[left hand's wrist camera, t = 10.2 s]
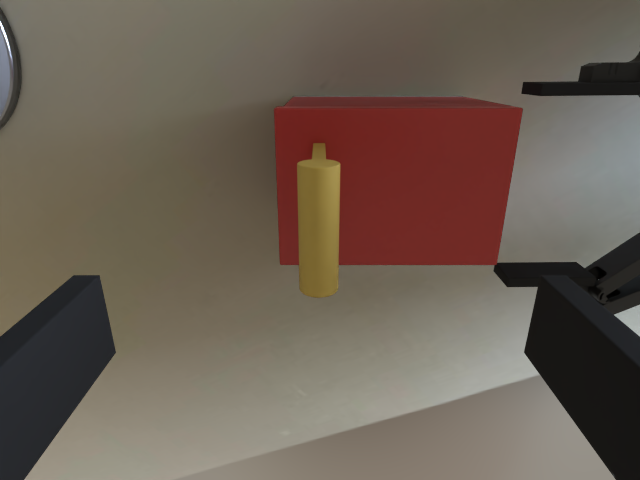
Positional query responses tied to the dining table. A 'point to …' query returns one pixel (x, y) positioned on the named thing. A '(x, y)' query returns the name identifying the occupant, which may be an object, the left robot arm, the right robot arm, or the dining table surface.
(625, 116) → the dining table surface
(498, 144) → the lid
